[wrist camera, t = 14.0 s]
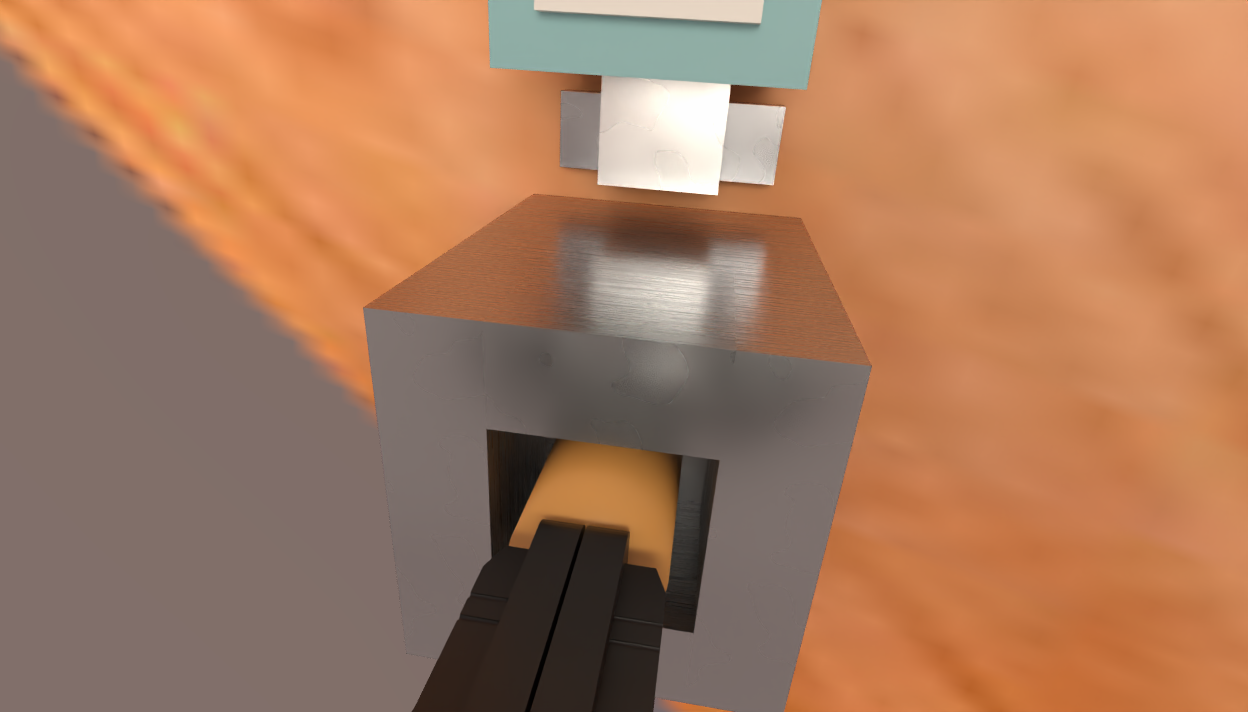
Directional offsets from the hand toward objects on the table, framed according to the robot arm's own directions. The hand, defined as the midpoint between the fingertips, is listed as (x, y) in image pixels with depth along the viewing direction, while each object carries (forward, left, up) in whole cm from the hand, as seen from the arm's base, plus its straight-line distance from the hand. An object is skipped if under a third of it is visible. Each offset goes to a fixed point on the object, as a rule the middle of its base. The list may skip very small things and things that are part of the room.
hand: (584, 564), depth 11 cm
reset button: (0, 0, -4) cm, 4 cm away
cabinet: (0, 0, -11) cm, 11 cm away
